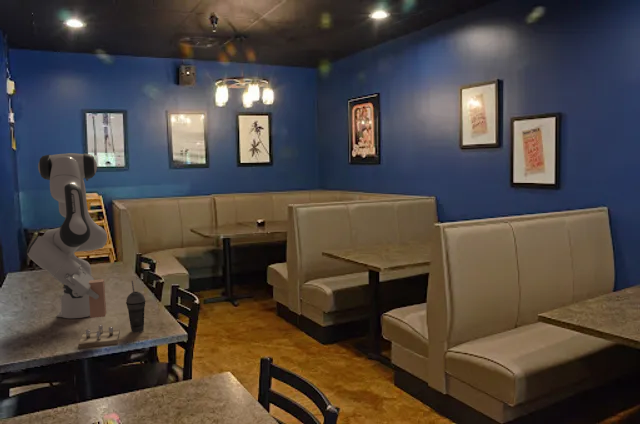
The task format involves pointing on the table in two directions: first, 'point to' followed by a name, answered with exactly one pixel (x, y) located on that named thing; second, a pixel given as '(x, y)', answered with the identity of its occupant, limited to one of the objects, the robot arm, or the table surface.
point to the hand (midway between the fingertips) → (99, 295)
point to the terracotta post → (97, 304)
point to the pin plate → (99, 337)
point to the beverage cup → (136, 310)
